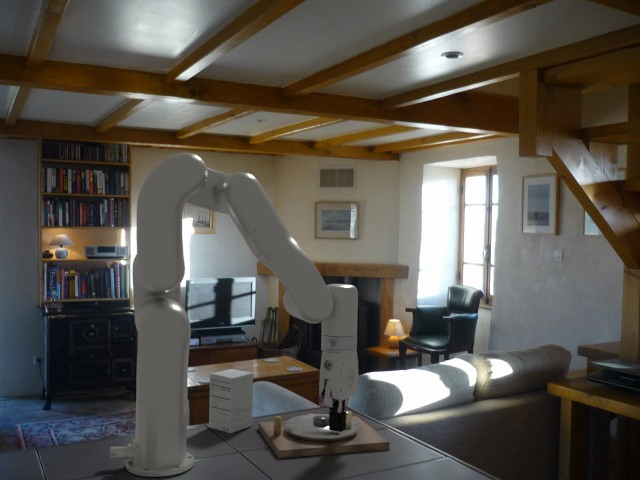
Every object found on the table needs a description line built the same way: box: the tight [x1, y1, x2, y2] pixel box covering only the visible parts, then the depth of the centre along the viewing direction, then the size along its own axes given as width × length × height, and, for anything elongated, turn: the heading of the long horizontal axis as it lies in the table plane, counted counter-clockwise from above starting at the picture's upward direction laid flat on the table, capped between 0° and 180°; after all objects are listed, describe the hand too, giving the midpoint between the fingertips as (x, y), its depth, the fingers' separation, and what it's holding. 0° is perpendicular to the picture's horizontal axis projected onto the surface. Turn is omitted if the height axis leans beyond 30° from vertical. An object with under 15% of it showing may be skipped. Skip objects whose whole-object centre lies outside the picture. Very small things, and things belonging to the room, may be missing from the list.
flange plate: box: [285, 410, 358, 441], centre depth 141 cm, size 16×17×5 cm
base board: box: [258, 415, 390, 459], centre depth 140 cm, size 24×20×5 cm
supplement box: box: [208, 368, 254, 434], centre depth 148 cm, size 7×7×13 cm
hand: (337, 429), depth 134 cm, fingers closed
